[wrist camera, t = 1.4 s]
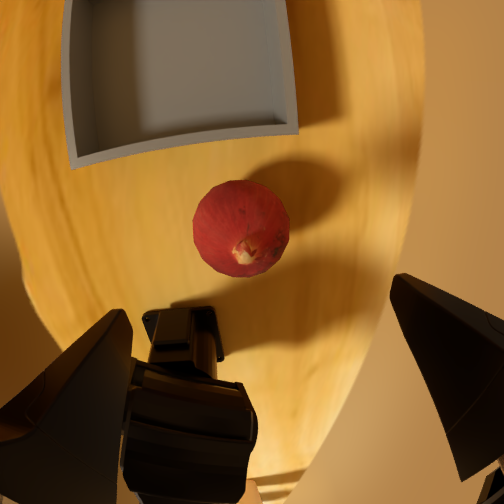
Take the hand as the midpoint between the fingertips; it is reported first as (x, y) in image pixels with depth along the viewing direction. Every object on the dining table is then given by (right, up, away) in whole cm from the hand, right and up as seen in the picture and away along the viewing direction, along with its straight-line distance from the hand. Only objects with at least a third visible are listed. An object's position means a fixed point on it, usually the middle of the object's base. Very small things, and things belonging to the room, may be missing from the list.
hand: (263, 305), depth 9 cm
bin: (-5, +15, +7) cm, 17 cm away
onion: (-2, +5, +12) cm, 13 cm away
